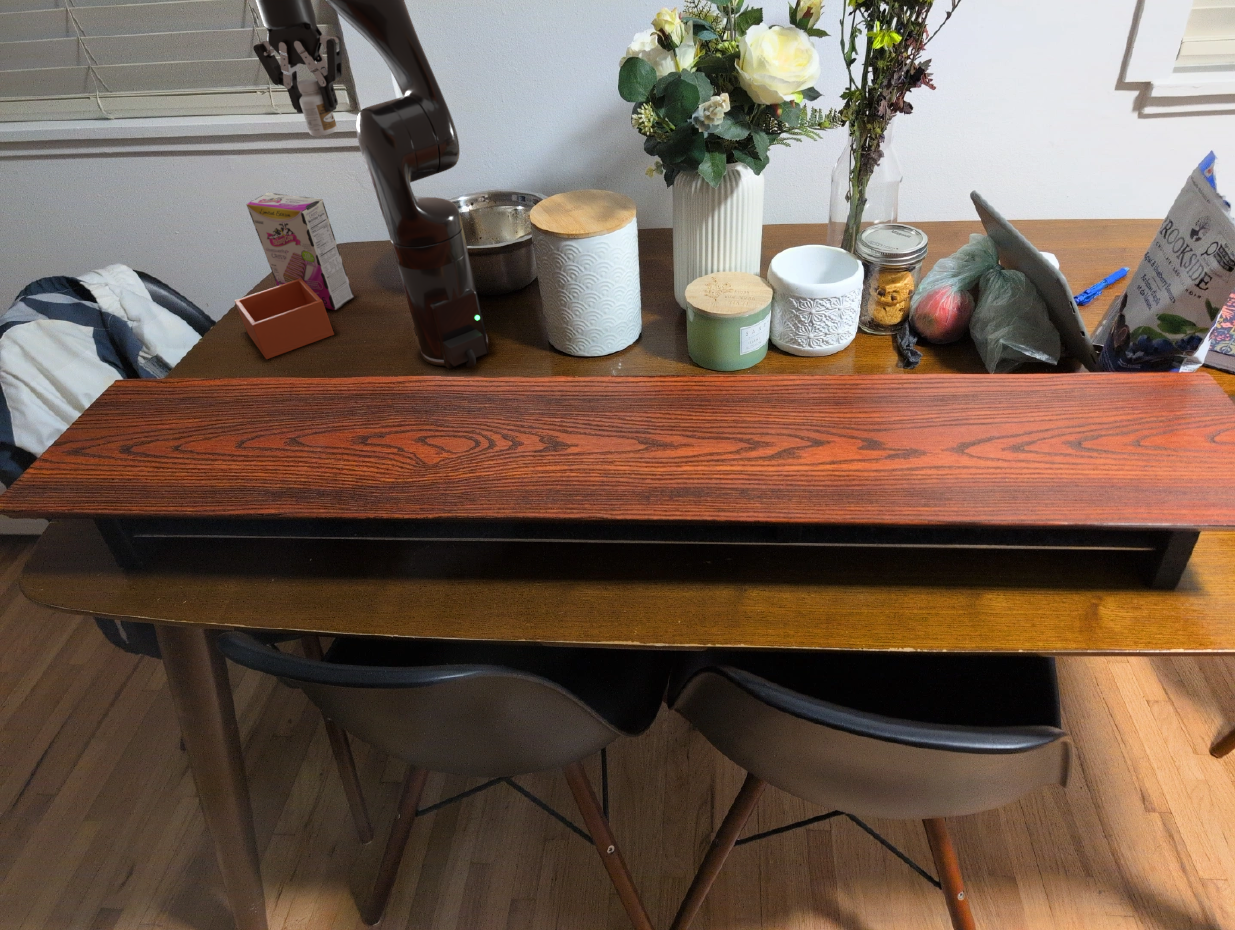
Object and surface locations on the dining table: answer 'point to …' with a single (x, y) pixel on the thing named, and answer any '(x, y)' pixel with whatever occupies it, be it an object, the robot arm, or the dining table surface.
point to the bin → (284, 318)
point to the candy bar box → (301, 245)
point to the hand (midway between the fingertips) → (317, 110)
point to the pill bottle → (315, 108)
